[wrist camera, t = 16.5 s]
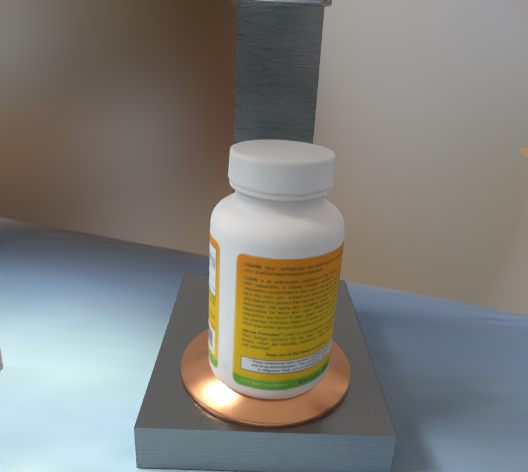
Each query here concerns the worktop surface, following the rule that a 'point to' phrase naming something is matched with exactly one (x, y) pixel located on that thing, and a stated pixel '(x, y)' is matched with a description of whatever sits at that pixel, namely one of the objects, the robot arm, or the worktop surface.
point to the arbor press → (197, 308)
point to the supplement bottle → (274, 269)
